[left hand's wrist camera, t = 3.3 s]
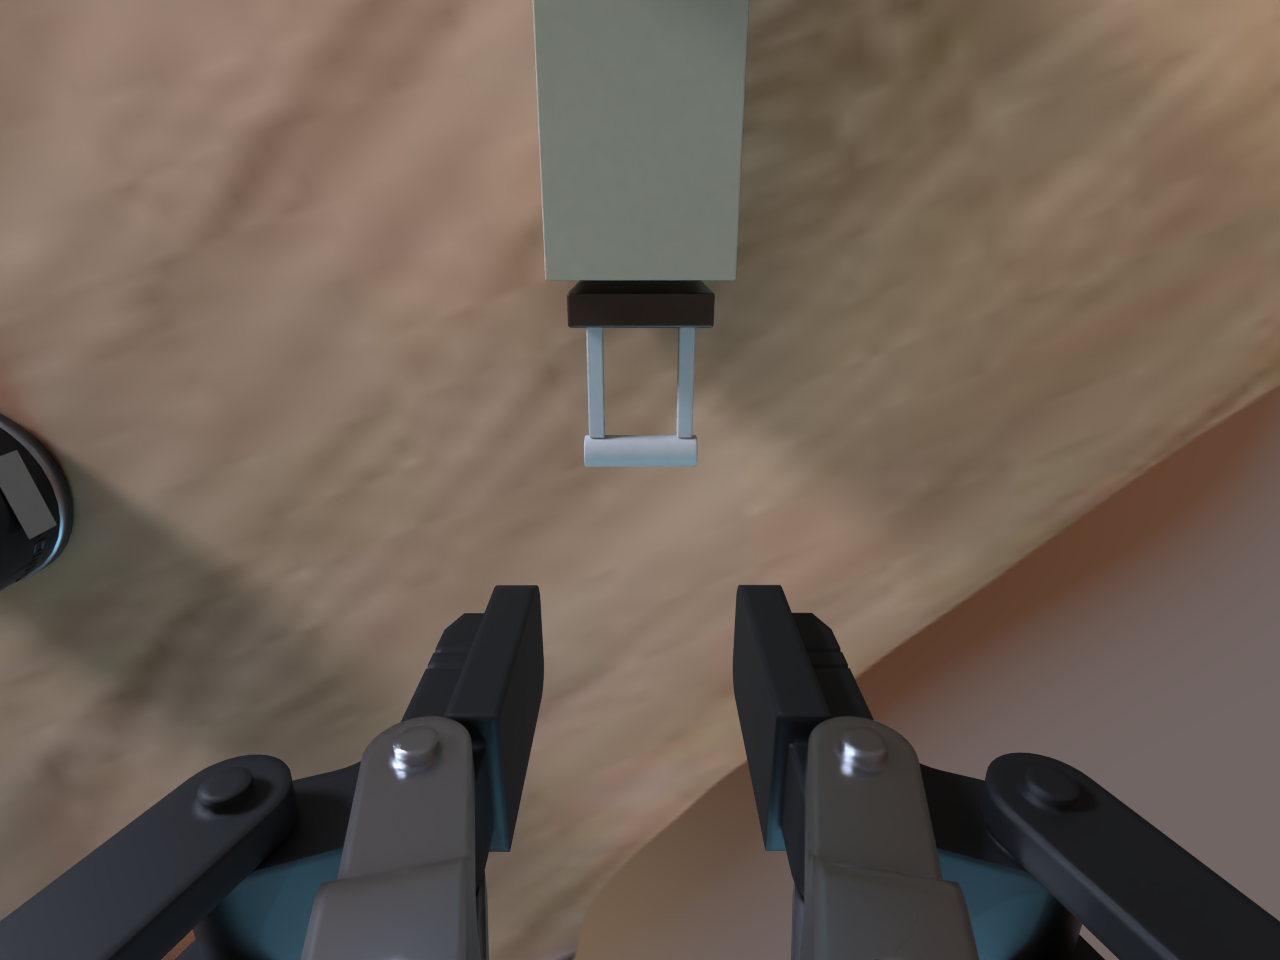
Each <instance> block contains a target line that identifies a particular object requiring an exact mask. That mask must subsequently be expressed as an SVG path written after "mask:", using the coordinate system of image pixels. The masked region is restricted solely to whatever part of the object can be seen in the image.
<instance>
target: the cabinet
mask: <svg viewBox="0 0 1280 960" xmlns="http://www.w3.org/2000/svg"><path fill="white" fill-rule="evenodd" d="M748 13H749V0H533V18H534V40H535V62H536V84H537V106H538V128H539V150H540V172H541V194H542V216H543V237H544V259H545V279H546V280H736V273H737V252H738V230H739V208H740V187H741V165H742V143H743V121H744V100H745V78H746V56H747V35H748Z"/></svg>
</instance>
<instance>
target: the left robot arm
mask: <svg viewBox="0 0 1280 960" xmlns="http://www.w3.org/2000/svg"><path fill="white" fill-rule="evenodd" d="M72 525H73V507H72V500H71V496H70V493H69V490H68V487H67V484H66V482H65V479H64V477H63V475H62V473H61V471H60V470H59V468H58V466H57V465H56V463H55V462H54V460H53V459H52V457H51V456H50V455H49V453H48V452H47V451H46V450H45V449H44V447H43V446H42V445H41V444H40V443H39V442H38V441H37V440H36V439H35V438H34V437H33V436H32V435H30V434H29V433H28V432H27V431H26V430H24V429H23V428H22V427H21V426H19V425H18V424H16V423H15V422H13V421H12V420H10V419H9V418H7V417H5V416H4V415H2V414H0V591H1V590H3V589H4V588H6V587H8V586H9V585H11V584H13V583H15V582H17V581H19V580H22V579H24V578H27V577H29V576H31V575H33V574H35V573H36V572H38V571H40V570H41V569H43V568H45V567H46V566H48V565H49V564H51V563H52V562H53V561H54V560H55V559H56V558H57V557H58V556H59V555H60V554H61V552H62V551H63V550H64V548H65V546H66V544H67V542H68V540H69V537H70V534H71V530H72ZM543 680H544V656H543V639H542V621H541V603H540V592H539V587H538V586H537V585H497V586H495V588H494V590H493V593H492V595H491V598H490V600H489V603H488V605H487V608H486V610H485V613H464V614H463V615H462V616H461V617H459V618H458V619H457V620H456V621H455V622H453V623H452V624H451V625H450V626H449V627H447V628H446V629H445V630H444V632H443V634H442V636H441V639H440V641H439V643H438V645H437V647H436V652H435V653H433V655H432V657H431V660H430V662H429V664H428V669H426V670H425V672H424V674H423V676H422V678H421V681H420V683H419V685H418V687H417V689H416V691H415V693H414V695H413V697H412V700H411V702H410V704H409V706H408V708H407V710H406V712H405V714H404V716H403V718H402V721H401V722H400V723H398V724H396V725H393V726H392V727H390V728H388V729H386V730H385V731H383V732H382V733H380V734H379V735H378V736H377V737H376V738H375V739H373V740H372V742H371V743H370V744H369V745H368V746H367V748H366V750H365V752H364V753H363V756H362V760H361V761H360V762H358V763H356V764H354V765H351V766H349V767H346V768H343V769H340V770H336V771H333V772H328V773H324V774H320V775H315V776H311V777H307V778H303V779H298V780H294V781H292V777H291V773H290V769H289V768H288V766H287V765H286V764H285V763H284V762H283V761H282V760H280V759H278V758H275V757H272V756H268V755H246V756H239V757H235V758H231V759H228V760H225V761H222V762H219V763H216V764H214V765H212V766H210V767H208V768H206V769H204V770H202V771H200V772H199V773H197V774H195V775H194V776H192V777H191V778H189V779H188V780H187V781H185V782H184V783H183V784H181V785H180V786H179V787H177V788H176V789H175V790H173V791H172V792H171V793H169V794H168V795H167V796H165V797H164V798H163V799H161V800H160V801H159V802H157V803H156V804H155V805H154V806H152V807H151V808H150V809H148V810H147V811H146V812H144V813H143V814H142V815H140V816H139V817H138V818H136V819H135V820H134V821H132V822H131V823H130V824H128V825H127V826H126V827H124V828H123V829H122V830H121V831H119V832H118V833H117V834H115V835H114V836H113V837H111V838H110V839H109V840H107V841H106V842H105V843H103V844H102V845H101V846H99V847H98V848H97V849H95V850H94V851H93V852H91V853H90V854H89V855H87V856H86V857H85V858H84V859H82V860H81V861H80V862H78V863H77V864H76V865H74V866H73V867H72V868H70V869H69V870H68V871H66V872H65V873H64V874H62V875H61V876H60V877H58V878H57V879H56V880H54V881H53V882H52V883H51V884H49V885H48V886H47V887H45V888H44V889H43V890H41V891H40V892H39V893H37V894H36V895H35V896H33V897H32V898H31V899H29V900H28V901H27V902H25V903H24V904H23V905H21V906H20V907H19V908H17V909H16V910H15V911H14V912H12V913H11V914H10V915H8V916H7V917H6V918H4V919H3V920H2V921H0V960H161V959H162V958H163V957H164V956H165V955H166V954H167V953H168V952H169V951H170V950H171V949H172V948H173V947H174V946H175V945H176V944H177V943H178V942H179V941H181V940H182V939H183V938H184V937H185V936H186V935H187V934H188V933H189V932H190V931H191V930H192V929H193V931H194V934H195V938H196V940H195V941H194V942H192V943H191V944H190V945H189V946H188V947H187V948H186V949H185V950H184V951H183V952H182V953H181V954H180V955H179V956H178V957H177V958H176V959H175V960H489V945H488V903H487V887H486V878H485V866H486V862H487V858H488V853H489V852H510V849H511V844H512V839H513V834H514V829H515V824H516V820H517V815H518V810H519V805H520V800H521V795H522V790H523V786H524V781H525V776H526V771H527V766H528V761H529V756H530V752H531V747H532V742H533V737H534V732H535V727H536V722H537V718H538V713H539V708H540V703H541V698H542V691H543ZM733 684H734V694H735V700H736V705H737V710H738V715H739V720H740V725H741V730H742V735H743V740H744V745H745V750H746V755H747V760H748V765H749V770H750V775H751V780H752V785H753V790H754V795H755V800H756V805H757V810H758V815H759V820H760V825H761V830H762V835H763V840H764V845H765V850H766V851H786V852H787V856H788V860H789V865H790V869H791V873H792V876H793V880H794V888H793V903H792V946H791V960H1105V959H1104V958H1103V957H1102V956H1101V955H1100V954H1099V953H1098V952H1097V951H1096V950H1095V949H1094V948H1093V947H1092V946H1091V945H1089V944H1088V943H1087V942H1086V941H1085V940H1084V939H1083V938H1082V937H1081V936H1080V935H1079V933H1080V929H1081V926H1082V924H1083V925H1084V926H1085V927H1086V928H1087V929H1088V930H1089V931H1090V932H1091V933H1092V934H1093V935H1094V936H1095V937H1096V938H1097V939H1098V940H1100V941H1101V942H1102V943H1103V944H1104V945H1105V946H1106V947H1107V948H1108V949H1109V950H1110V951H1111V952H1112V953H1113V954H1114V955H1115V956H1116V957H1117V958H1118V959H1119V960H1280V921H1278V920H1277V919H1276V918H1274V917H1273V916H1272V915H1270V914H1269V913H1268V912H1266V911H1265V910H1264V909H1262V908H1261V907H1260V906H1259V905H1257V904H1256V903H1255V902H1253V901H1252V900H1251V899H1249V898H1248V897H1247V896H1245V895H1244V894H1243V893H1241V892H1240V891H1239V890H1237V889H1236V888H1235V887H1233V886H1232V885H1231V884H1229V883H1228V882H1227V881H1226V880H1224V879H1223V878H1222V877H1220V876H1219V875H1218V874H1216V873H1215V872H1214V871H1212V870H1211V869H1210V868H1208V867H1207V866H1206V865H1204V864H1203V863H1202V862H1200V861H1199V860H1198V859H1196V858H1195V857H1194V856H1192V855H1191V854H1190V853H1189V852H1187V851H1186V850H1185V849H1183V848H1182V847H1181V846H1179V845H1178V844H1177V843H1175V842H1174V841H1173V840H1171V839H1170V838H1169V837H1167V836H1166V835H1165V834H1163V833H1162V832H1161V831H1159V830H1158V829H1157V828H1155V827H1154V826H1153V825H1151V824H1150V823H1149V822H1148V821H1146V820H1145V819H1144V818H1142V817H1141V816H1140V815H1138V814H1137V813H1136V812H1134V811H1133V810H1132V809H1130V808H1129V807H1128V806H1126V805H1125V804H1124V803H1122V802H1121V801H1120V800H1119V799H1117V798H1116V797H1115V796H1113V795H1112V794H1111V793H1109V792H1108V791H1107V790H1105V789H1104V788H1103V787H1101V786H1100V785H1099V784H1097V783H1096V782H1095V781H1093V780H1092V779H1091V778H1089V777H1088V776H1086V775H1085V774H1084V773H1082V772H1081V771H1079V770H1077V769H1075V768H1073V767H1072V766H1070V765H1068V764H1065V763H1063V762H1061V761H1058V760H1055V759H1053V758H1050V757H1046V756H1042V755H1038V754H1031V753H1010V754H1006V755H1002V756H1000V757H998V758H996V759H995V760H994V761H992V762H991V764H990V765H989V767H988V770H987V773H986V778H985V781H984V780H980V779H975V778H971V777H967V776H962V775H958V774H954V773H950V772H945V771H941V770H937V769H934V768H931V767H928V766H925V765H923V764H920V763H919V760H918V757H917V753H916V752H915V750H914V748H913V746H912V745H911V744H910V743H909V742H908V740H907V739H905V738H904V737H903V736H902V735H901V734H900V733H898V732H897V731H895V730H894V729H892V728H890V727H888V726H886V725H884V724H882V723H879V722H877V721H874V719H873V717H872V715H871V713H870V711H869V709H868V707H867V704H866V702H865V700H864V698H863V696H862V694H861V692H860V689H859V687H858V685H857V683H856V681H855V679H854V677H853V674H852V672H851V670H850V668H848V664H847V662H846V659H845V657H844V655H843V653H842V652H840V647H839V644H838V642H837V640H836V638H835V636H834V634H833V632H832V629H830V628H829V627H828V626H827V625H826V624H824V623H823V622H822V621H821V620H820V619H818V618H817V617H816V616H815V615H814V614H812V613H792V612H791V610H790V607H789V605H788V602H787V599H786V597H785V594H784V592H783V589H782V587H781V586H780V585H739V586H738V589H737V596H736V613H735V632H734V650H733Z"/></svg>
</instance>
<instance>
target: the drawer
mask: <svg viewBox="0 0 1280 960" xmlns="http://www.w3.org/2000/svg"><path fill="white" fill-rule="evenodd" d="M714 298H715V295H714V293H713V292H712V291H711V290H710V289H709V288H708V287H707V286H706V285H705V284H704V283H703V282H702V281H701V280H580V281H579V282H578V283H577V284H576V286H575V287H574V288H573V289H572V290H571V291H570V292H569V293H568V294H567V310H568V326H569V327H571V328H586V331H587V368H588V406H589V435H586V436H585V439H584V461H585V466H696V464H697V437H696V435H692V421H693V384H694V347H695V328H711V327H713V325H714ZM603 328H678V378H677V432H676V433H677V435H605V409H604V355H603Z"/></svg>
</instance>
